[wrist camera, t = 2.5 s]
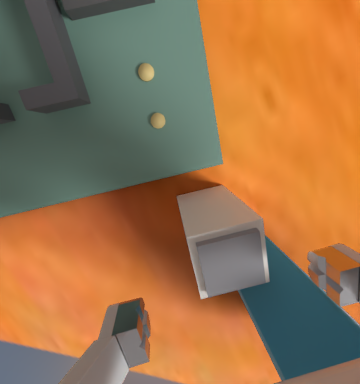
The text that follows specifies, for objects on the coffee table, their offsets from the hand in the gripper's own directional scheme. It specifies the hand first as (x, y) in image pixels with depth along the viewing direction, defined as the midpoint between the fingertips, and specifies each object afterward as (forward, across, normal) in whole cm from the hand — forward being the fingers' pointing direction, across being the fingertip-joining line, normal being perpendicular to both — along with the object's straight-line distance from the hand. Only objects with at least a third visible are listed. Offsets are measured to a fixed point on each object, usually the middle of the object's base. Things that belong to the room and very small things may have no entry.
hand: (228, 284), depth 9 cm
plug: (+8, -1, 0) cm, 8 cm away
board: (+8, +7, -12) cm, 16 cm away
